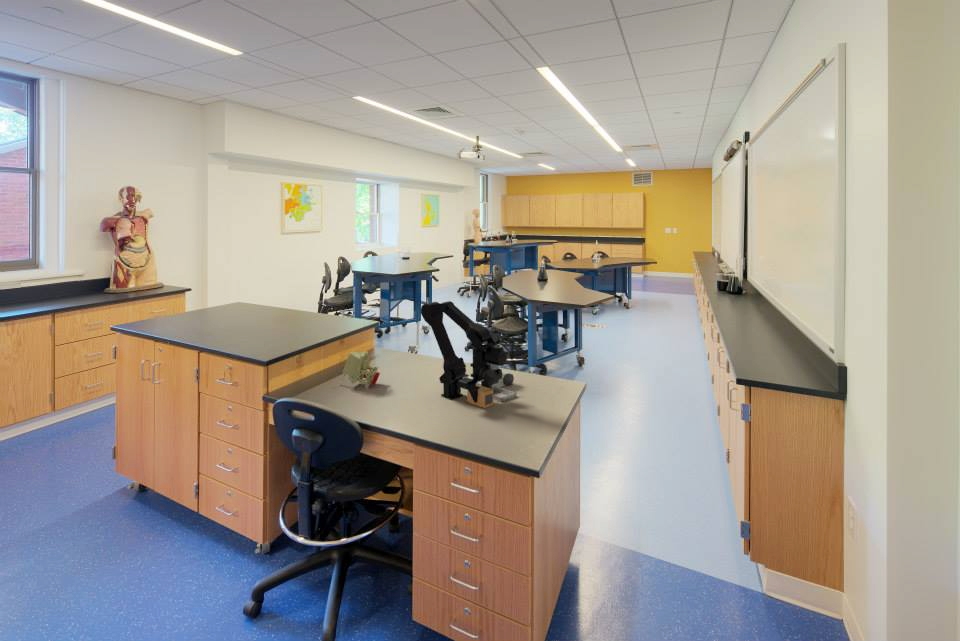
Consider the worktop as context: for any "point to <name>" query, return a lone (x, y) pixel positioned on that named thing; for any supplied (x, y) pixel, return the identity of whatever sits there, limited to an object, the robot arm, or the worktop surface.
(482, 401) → the tan wooden brick
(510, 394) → the bracket
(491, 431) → the worktop surface
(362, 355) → the mechanical component
